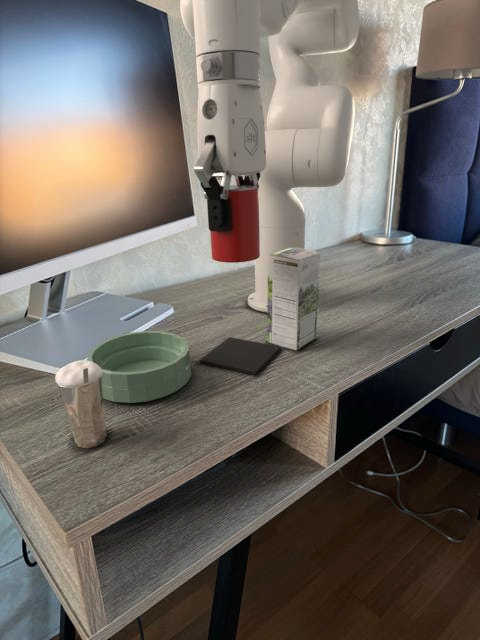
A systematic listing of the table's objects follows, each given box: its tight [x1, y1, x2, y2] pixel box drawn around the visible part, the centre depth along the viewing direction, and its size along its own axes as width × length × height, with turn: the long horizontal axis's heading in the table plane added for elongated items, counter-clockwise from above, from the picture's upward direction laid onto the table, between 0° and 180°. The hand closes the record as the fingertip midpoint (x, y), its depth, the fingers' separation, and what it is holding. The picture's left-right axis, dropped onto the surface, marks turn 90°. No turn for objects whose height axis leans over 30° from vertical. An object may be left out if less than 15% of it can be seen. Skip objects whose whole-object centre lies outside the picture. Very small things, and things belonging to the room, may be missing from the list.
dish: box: [86, 330, 192, 404], centre depth 60 cm, size 13×13×4 cm
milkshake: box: [54, 359, 108, 449], centre depth 47 cm, size 5×5×10 cm
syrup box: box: [266, 248, 321, 351], centre depth 68 cm, size 6×6×14 cm
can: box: [209, 184, 260, 264], centre depth 59 cm, size 7×7×9 cm
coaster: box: [199, 337, 282, 376], centre depth 67 cm, size 9×9×1 cm
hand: (234, 225), depth 59 cm, fingers closed on can, 6 cm apart
